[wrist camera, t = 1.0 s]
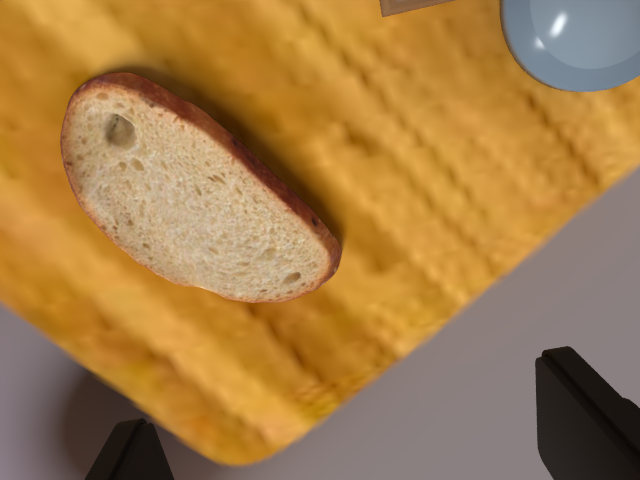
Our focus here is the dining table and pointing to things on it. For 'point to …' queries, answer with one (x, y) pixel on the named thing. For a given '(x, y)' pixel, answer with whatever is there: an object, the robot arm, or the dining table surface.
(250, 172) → the bread slice
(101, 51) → the dining table surface
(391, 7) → the block
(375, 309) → the dining table surface
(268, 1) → the dining table surface
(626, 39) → the dish
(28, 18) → the dining table surface
